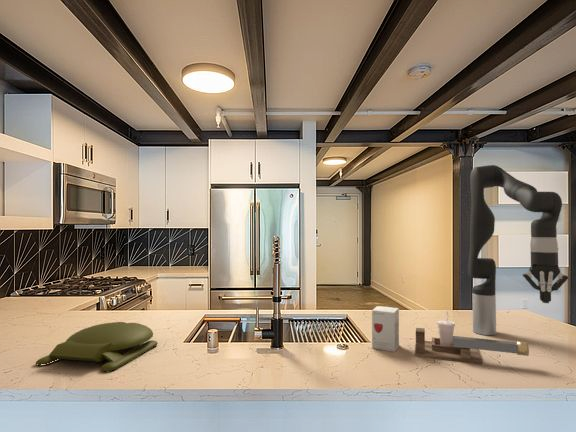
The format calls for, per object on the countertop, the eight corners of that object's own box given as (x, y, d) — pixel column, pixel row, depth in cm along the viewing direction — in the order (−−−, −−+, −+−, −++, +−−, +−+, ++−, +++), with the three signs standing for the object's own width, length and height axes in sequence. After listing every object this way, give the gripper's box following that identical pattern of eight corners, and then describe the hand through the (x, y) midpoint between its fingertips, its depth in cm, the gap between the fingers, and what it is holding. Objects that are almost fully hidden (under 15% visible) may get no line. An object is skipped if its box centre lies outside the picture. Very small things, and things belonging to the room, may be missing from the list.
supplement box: (371, 348, 140) (371, 309, 140) (377, 342, 147) (376, 305, 148) (395, 352, 135) (394, 312, 136) (399, 345, 143) (399, 307, 144)
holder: (416, 342, 147) (415, 320, 147) (476, 348, 139) (475, 325, 139) (414, 355, 131) (414, 331, 132) (482, 364, 123) (481, 338, 123)
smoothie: (457, 351, 133) (456, 313, 134) (439, 350, 135) (438, 312, 135) (453, 345, 140) (452, 309, 140) (435, 344, 141) (435, 308, 141)
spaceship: (111, 374, 116) (111, 344, 116) (31, 367, 122) (32, 338, 122) (168, 341, 150) (168, 317, 151) (103, 337, 156) (104, 314, 157)
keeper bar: (452, 345, 131) (452, 333, 132) (525, 353, 123) (525, 340, 123) (453, 349, 127) (452, 336, 128) (529, 357, 119) (528, 344, 119)
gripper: (564, 250, 121) (565, 302, 121) (518, 249, 126) (519, 299, 125) (572, 251, 114) (573, 306, 114) (523, 251, 119) (524, 303, 118)
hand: (545, 302), depth 120 cm, fingers closed
